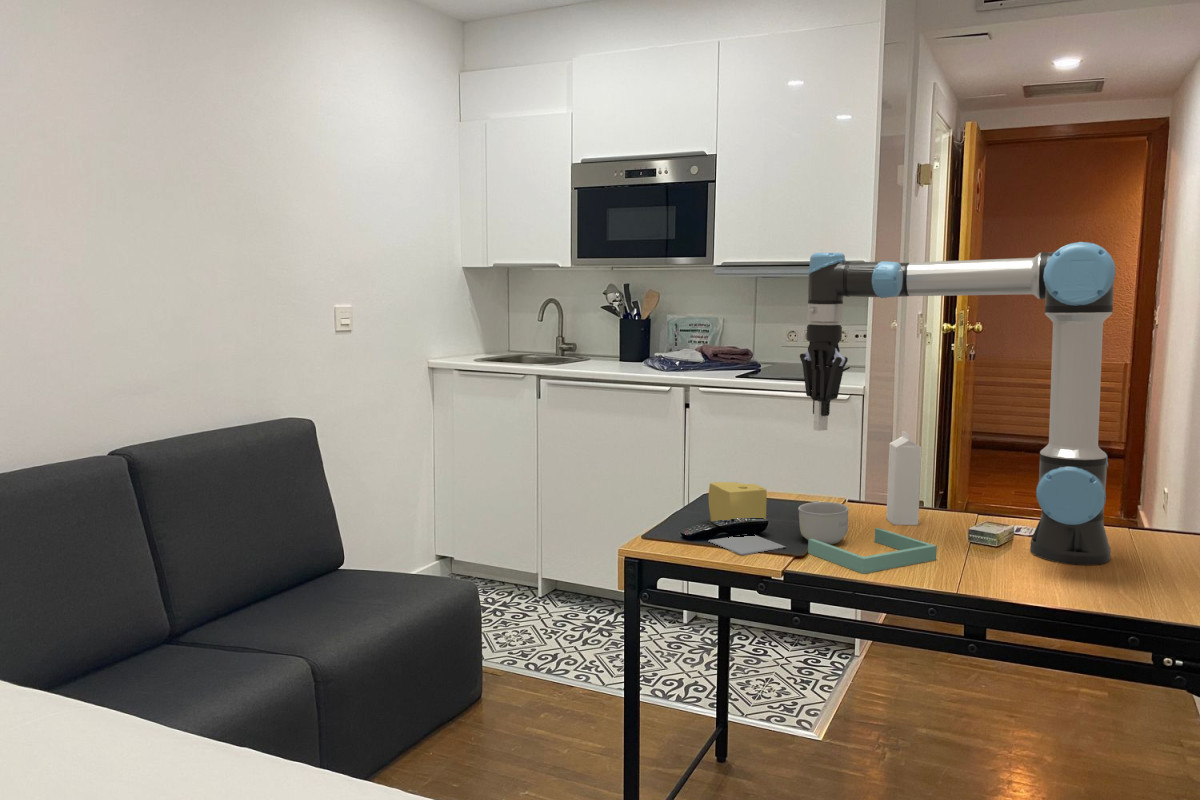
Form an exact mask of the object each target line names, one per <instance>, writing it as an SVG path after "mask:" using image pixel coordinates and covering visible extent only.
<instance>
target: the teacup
mask: <svg viewBox="0 0 1200 800" xmlns="http://www.w3.org/2000/svg"><path fill="white" fill-rule="evenodd" d="M797 509H798V520H799V522H798V523H799V530H800V534H801V536H802V537H804V538H805V539H806V540H807V541H808V539H815V540H818V541H821V542H823V543H826V544H829V545H835V544H838V543H839V542H841V540H843V539H844V538H845V537H846V536H847V534H848V529H849V510H850V508H849V506H848V505H845V504H843V503H839V502H833V501H832V502H831V501H820V500H814V501H812V502H808V503H803V504H801V505H799V506H798V508H797Z"/></svg>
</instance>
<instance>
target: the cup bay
mask: <svg viewBox="0 0 1200 800" xmlns="http://www.w3.org/2000/svg"><path fill="white" fill-rule="evenodd" d="M807 542H808V543H807V554H809V555H812V556H814V557H817V558H820V559H823V560H825V561H828V562H831V563H833V564H836V565H838V566H842V567H844V568H846V569H850V570H852V571H855V572H857V573H860V574H863V575H864V574H868V573H869V574H870V573H873V572H881V571H884V570H885V571H886V570H890V569H895V568H896V569H897V568H900V567H907V566H910V565H916V564H922V563H926V562H927V563H928V562H933V561H936V560H937V553H938V552H937V551H938V549H937V548H938V546H937V545H935V544H933V543H929V542H925V541H922V540H920V539H915V538H913V537H909V536H907V535H903V534H900V533H897V532H893V531H890V530H887V529H883V528H880V527H878V528H877V527H876V528H874V543H876V544H880V545H884V546H887V547H889V548H892V549H896V550H895V551H894V550H893V551H888V552H883V553H877V554H872V555H866V556H863V555H861V554H860V555H859V554H857V553H855V552H851V551H849V550H846V549H843V548H840V547H837V546H835V545H833V544H831V545H829V544H826V543H823V542H821V541H818V540H815V539H808V540H807Z"/></svg>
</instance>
